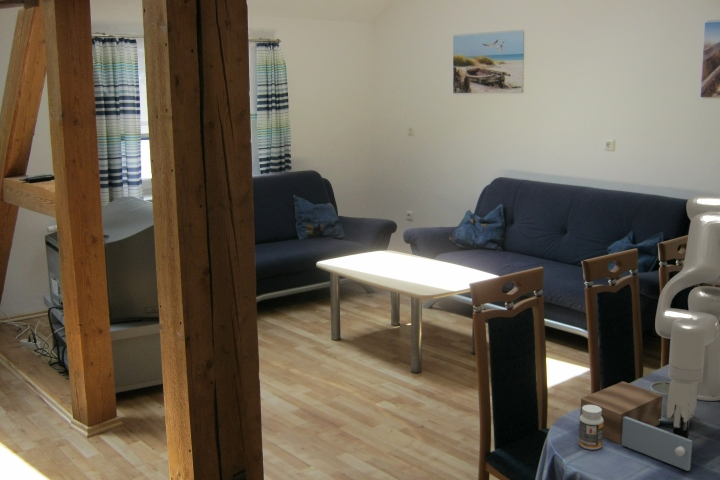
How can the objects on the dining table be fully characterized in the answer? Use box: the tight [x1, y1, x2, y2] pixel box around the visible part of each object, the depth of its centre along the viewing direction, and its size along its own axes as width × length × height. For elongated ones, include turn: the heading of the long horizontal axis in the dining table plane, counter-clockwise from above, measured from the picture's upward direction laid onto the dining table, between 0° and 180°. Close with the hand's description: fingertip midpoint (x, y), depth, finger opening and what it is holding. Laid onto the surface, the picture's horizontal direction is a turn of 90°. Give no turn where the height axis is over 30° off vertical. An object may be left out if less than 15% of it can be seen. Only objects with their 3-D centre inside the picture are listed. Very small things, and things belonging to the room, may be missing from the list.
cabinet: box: [579, 380, 663, 445], centre depth 195 cm, size 18×12×8 cm, turn 125°
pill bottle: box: [578, 405, 604, 451], centre depth 185 cm, size 6×6×10 cm
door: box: [621, 416, 693, 472], centre depth 177 cm, size 17×2×7 cm, turn 40°
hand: (680, 442), depth 179 cm, fingers closed
